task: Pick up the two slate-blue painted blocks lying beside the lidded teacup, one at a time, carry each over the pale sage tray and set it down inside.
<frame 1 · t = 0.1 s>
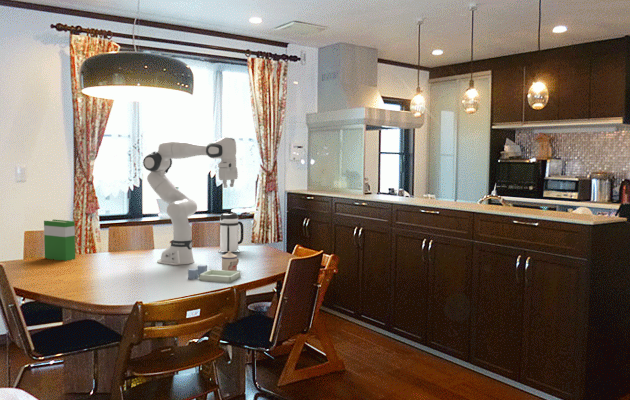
hand: (228, 187, 329), 48 cm above the table, fingers open, 8 cm apart
blue block 2: (193, 278, 298), on the table
blue block 1: (202, 274, 309), on the table
coffee press: (230, 252, 378), on the table
cereal box: (60, 259, 345), on the table
sage tray: (220, 278, 299), on the table
teacup with lid: (231, 271, 319), on the table
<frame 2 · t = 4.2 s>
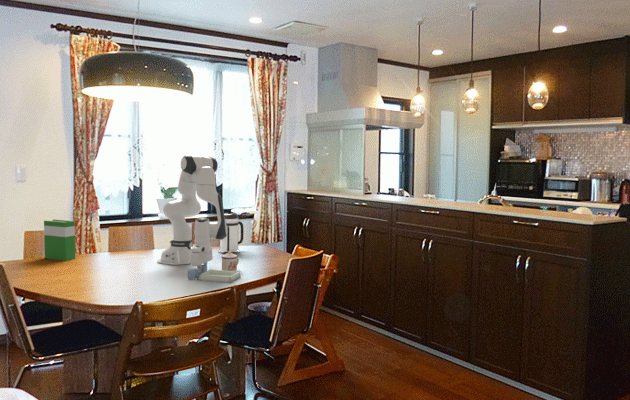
hand: (202, 270, 309), 2 cm above the table, fingers closed on blue block 1, 4 cm apart
blue block 1: (202, 274, 309), on the table, touching gripper
everything else where it was.
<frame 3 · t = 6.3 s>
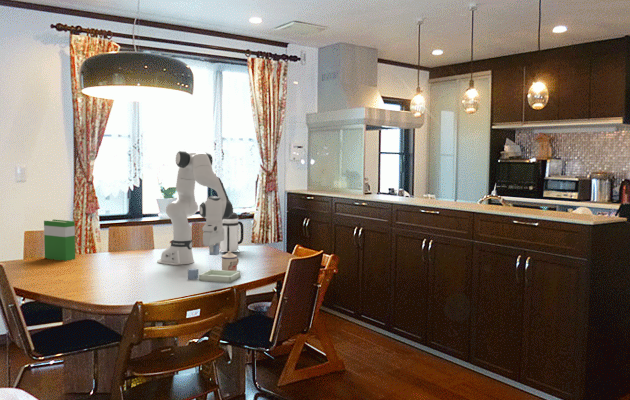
hand: (214, 251, 298), 15 cm above the table, fingers closed on blue block 1, 4 cm apart
blue block 1: (214, 254, 299), point 13 cm above the table, touching gripper
everything else where it was.
when the fingers open (4 cm above the table, at t = 8.5 s): blue block 1 drops 1 cm, resting on sage tray.
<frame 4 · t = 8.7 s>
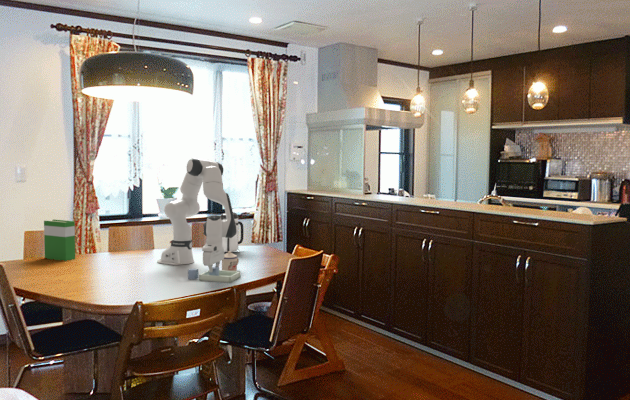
hand: (214, 270, 299), 4 cm above the table, fingers open, 6 cm apart
blue block 1: (214, 276, 300), point 1 cm above the table, touching sage tray
everything else where it was.
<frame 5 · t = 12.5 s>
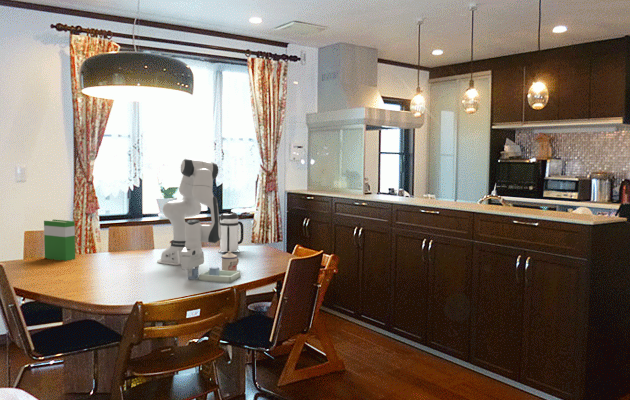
hand: (193, 275, 298), 2 cm above the table, fingers closed on blue block 2, 4 cm apart
blue block 2: (193, 278, 298), on the table, touching gripper
everything else where it was.
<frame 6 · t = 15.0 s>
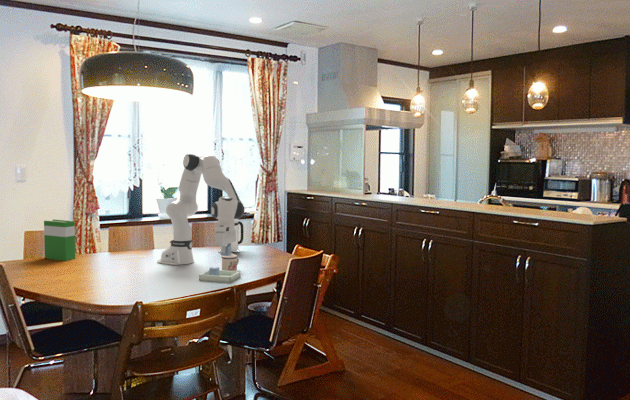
hand: (226, 251, 297), 15 cm above the table, fingers closed on blue block 2, 4 cm apart
blue block 2: (226, 255, 297), point 13 cm above the table, touching gripper
everything else where it was.
when the fingers open (4 cm above the table, at t = 17.3 s): blue block 2 drops 1 cm, resting on sage tray.
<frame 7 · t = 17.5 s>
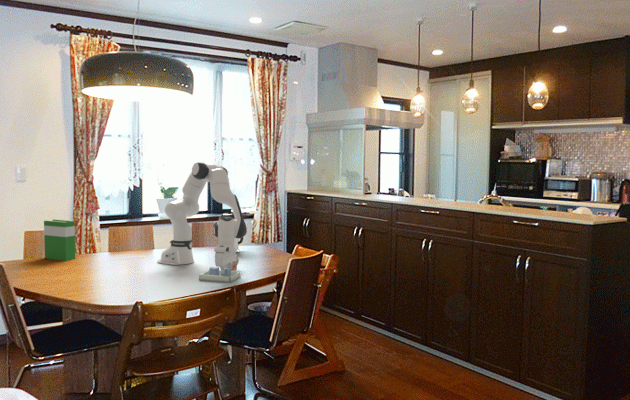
hand: (225, 271, 298), 4 cm above the table, fingers open, 6 cm apart
blue block 2: (226, 277, 298), point 1 cm above the table, touching sage tray
everything else where it was.
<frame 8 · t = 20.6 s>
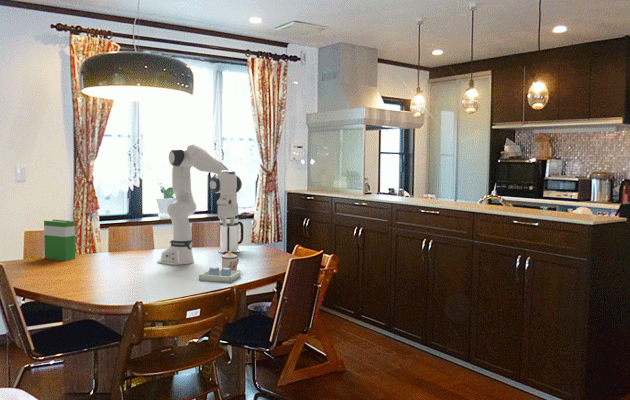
hand: (228, 225, 298), 29 cm above the table, fingers open, 8 cm apart
nothing on the table moved.
at the end: blue block 1 inside the target area on the sage tray (3.5 cm from its centre), point 0.8 cm above the sage tray's base; blue block 2 inside the target area on the sage tray (3.5 cm from its centre), point 0.8 cm above the sage tray's base; the gripper is holding nothing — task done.
